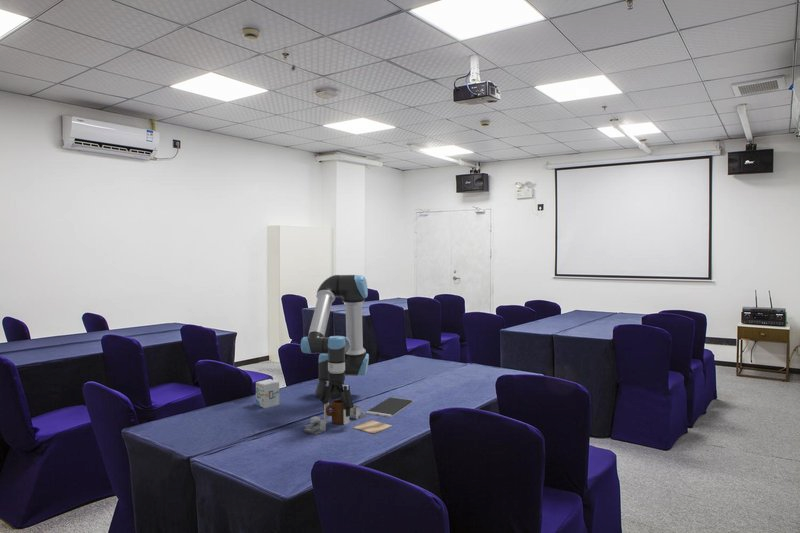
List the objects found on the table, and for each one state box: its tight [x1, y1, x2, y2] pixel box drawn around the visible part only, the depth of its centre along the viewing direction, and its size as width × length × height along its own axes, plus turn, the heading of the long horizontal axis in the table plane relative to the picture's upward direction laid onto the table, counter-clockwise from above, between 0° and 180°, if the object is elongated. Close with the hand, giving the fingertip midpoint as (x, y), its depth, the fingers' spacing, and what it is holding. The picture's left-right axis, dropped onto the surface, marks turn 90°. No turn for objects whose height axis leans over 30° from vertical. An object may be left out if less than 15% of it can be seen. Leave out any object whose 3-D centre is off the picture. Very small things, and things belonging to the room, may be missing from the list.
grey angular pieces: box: [302, 404, 367, 436], centre depth 221 cm, size 7×33×5 cm, turn 142°
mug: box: [326, 398, 345, 426], centre depth 222 cm, size 12×8×9 cm, turn 139°
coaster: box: [352, 419, 393, 435], centre depth 217 cm, size 12×12×1 cm
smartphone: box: [365, 396, 414, 418], centre depth 246 cm, size 13×27×2 cm, turn 156°
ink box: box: [255, 378, 280, 409], centre depth 250 cm, size 8×8×12 cm
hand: (336, 420), depth 222 cm, fingers open, 11 cm apart
